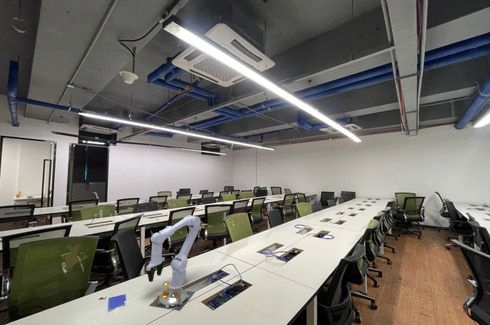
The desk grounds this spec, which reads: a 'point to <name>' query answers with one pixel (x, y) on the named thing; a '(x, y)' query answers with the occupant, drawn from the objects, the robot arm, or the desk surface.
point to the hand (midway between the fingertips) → (155, 278)
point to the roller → (165, 288)
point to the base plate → (172, 306)
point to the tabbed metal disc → (173, 297)
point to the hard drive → (116, 302)
